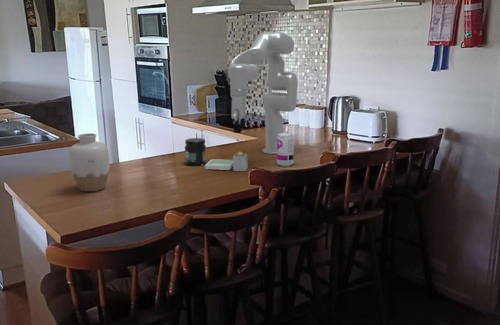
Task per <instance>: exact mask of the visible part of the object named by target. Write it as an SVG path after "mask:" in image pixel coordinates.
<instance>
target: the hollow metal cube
mask: <svg viewBox="0 0 500 325" xmlns="http://www.w3.org/2000/svg"><path fill="white" fill-rule="evenodd" d="M237 153H238V152H237ZM237 153H234V154H233V155H232V160H233V168H232V172H233V171H245V170H246V169H247V170H248V153H243V156H237ZM247 170H246V171H247Z"/></svg>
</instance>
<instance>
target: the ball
mask: <svg viewBox="0 0 500 325" xmlns="http://www.w3.org/2000/svg"><path fill="white" fill-rule="evenodd" d="M243 154H244V152H242V151H237V156H243Z"/></svg>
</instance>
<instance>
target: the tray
mask: <svg viewBox="0 0 500 325" xmlns="http://www.w3.org/2000/svg"><path fill="white" fill-rule="evenodd" d="M232 167H233V159H216V158H215V159H214V158H213V159H210V160H209V161H207V162H206V163H205V164H204V170H205V169H219V170H230V169H231V168H232ZM232 169H233V168H232Z"/></svg>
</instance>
